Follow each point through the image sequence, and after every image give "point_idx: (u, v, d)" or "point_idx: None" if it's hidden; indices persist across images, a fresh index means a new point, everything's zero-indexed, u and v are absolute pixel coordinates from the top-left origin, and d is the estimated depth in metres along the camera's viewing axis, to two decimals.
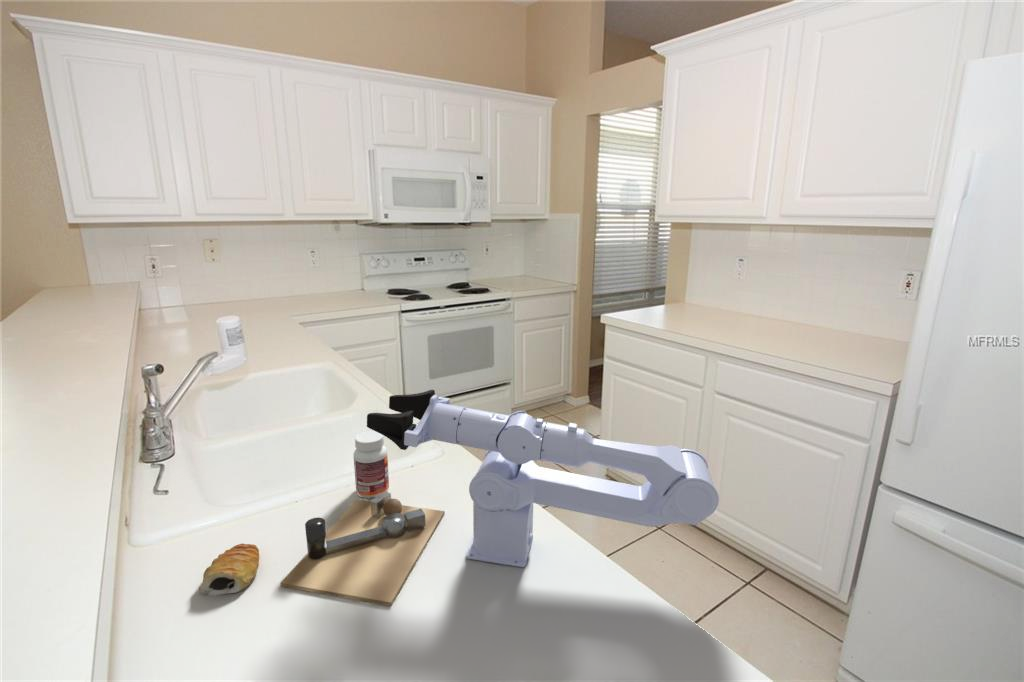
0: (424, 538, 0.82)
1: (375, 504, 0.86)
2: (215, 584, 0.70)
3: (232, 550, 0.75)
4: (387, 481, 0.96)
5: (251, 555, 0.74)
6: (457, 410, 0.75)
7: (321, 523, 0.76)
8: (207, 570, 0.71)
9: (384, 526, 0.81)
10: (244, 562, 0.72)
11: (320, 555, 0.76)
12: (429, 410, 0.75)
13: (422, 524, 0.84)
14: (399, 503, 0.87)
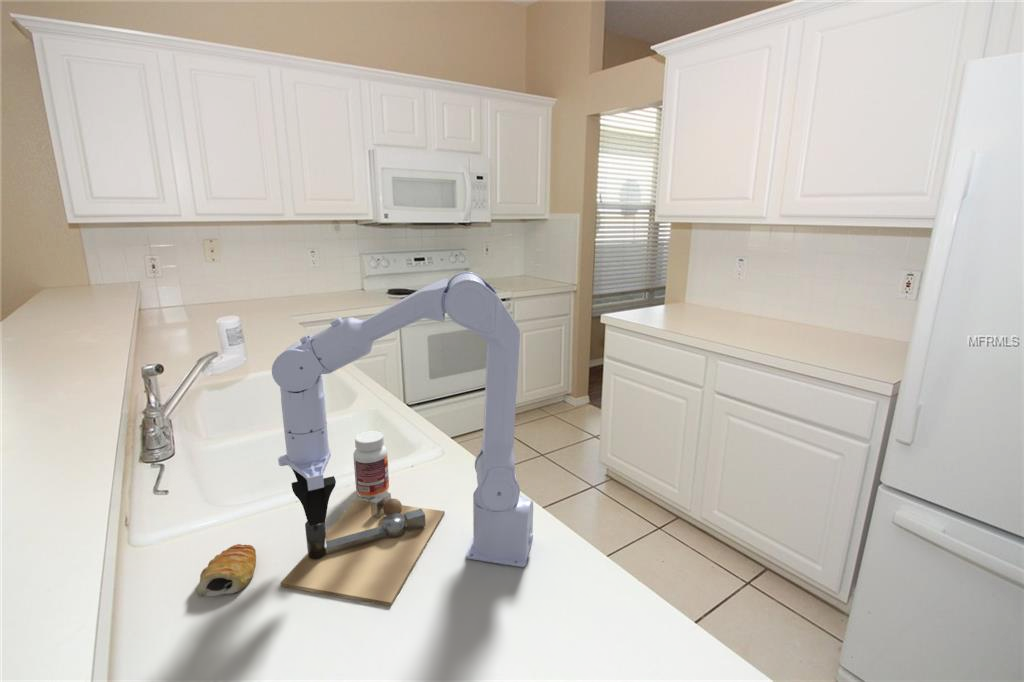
0: (424, 538, 0.82)
1: (375, 504, 0.86)
2: (212, 585, 0.69)
3: (229, 551, 0.74)
4: (387, 481, 0.96)
5: (248, 556, 0.74)
6: (285, 435, 0.70)
7: (321, 523, 0.76)
8: (204, 571, 0.71)
9: (384, 526, 0.81)
10: (241, 563, 0.72)
11: (320, 555, 0.76)
12: (291, 464, 0.70)
13: (422, 524, 0.84)
14: (399, 503, 0.87)
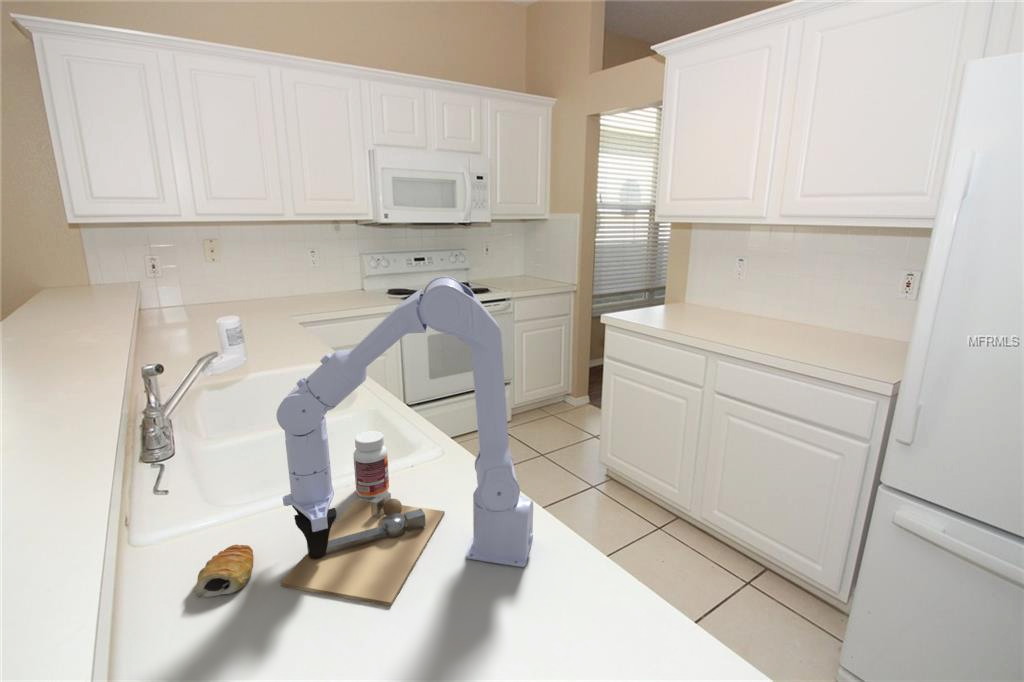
0: (424, 538, 0.82)
1: (375, 504, 0.86)
2: (210, 585, 0.69)
3: (226, 551, 0.74)
4: (387, 481, 0.96)
5: (246, 556, 0.74)
6: (290, 476, 0.72)
7: None
8: (201, 571, 0.70)
9: (384, 526, 0.81)
10: (239, 563, 0.72)
11: (320, 555, 0.76)
12: (295, 505, 0.72)
13: (422, 524, 0.84)
14: (399, 503, 0.87)
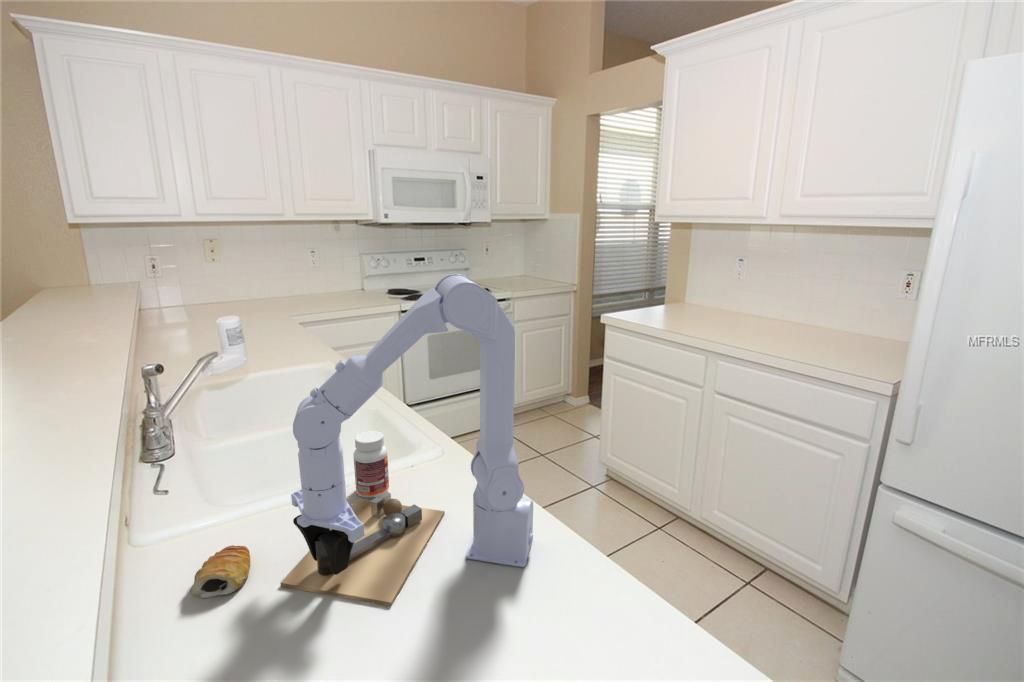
0: (424, 538, 0.82)
1: (375, 504, 0.86)
2: (207, 586, 0.69)
3: (223, 552, 0.74)
4: (387, 481, 0.96)
5: (243, 557, 0.74)
6: (308, 494, 0.68)
7: None
8: (198, 572, 0.70)
9: (387, 527, 0.81)
10: (236, 563, 0.72)
11: None
12: (318, 523, 0.68)
13: (419, 519, 0.86)
14: (399, 503, 0.87)
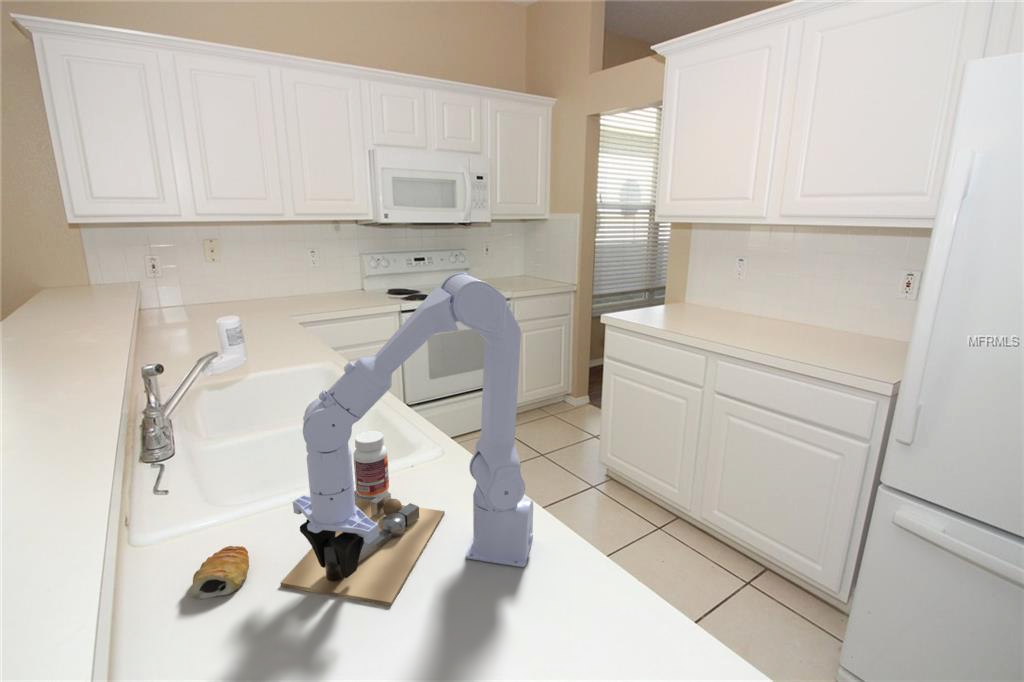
0: (424, 538, 0.82)
1: (375, 504, 0.86)
2: (206, 587, 0.69)
3: (221, 552, 0.74)
4: (387, 481, 0.96)
5: (241, 557, 0.74)
6: (320, 499, 0.66)
7: None
8: (197, 573, 0.70)
9: (388, 528, 0.81)
10: (235, 564, 0.72)
11: None
12: (330, 527, 0.67)
13: (417, 517, 0.86)
14: (399, 503, 0.87)
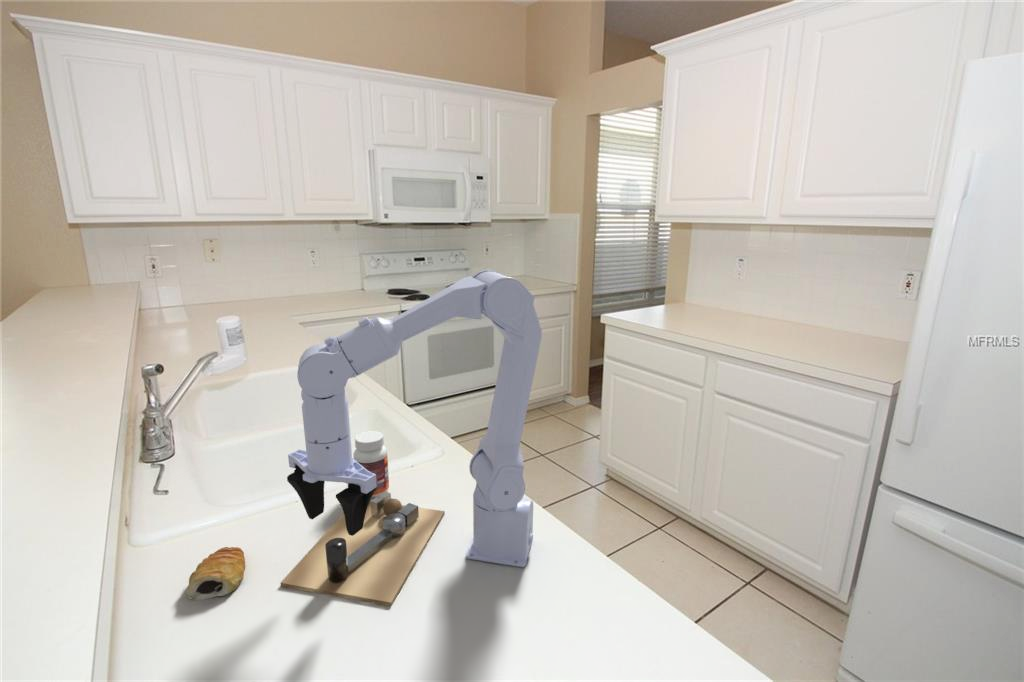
0: (424, 538, 0.82)
1: (375, 504, 0.86)
2: (203, 588, 0.69)
3: (217, 554, 0.74)
4: (387, 481, 0.96)
5: (237, 558, 0.74)
6: (315, 448, 0.65)
7: (343, 541, 0.72)
8: (193, 574, 0.70)
9: (389, 528, 0.81)
10: (231, 565, 0.72)
11: (346, 575, 0.72)
12: (326, 477, 0.65)
13: (416, 516, 0.86)
14: (399, 503, 0.87)
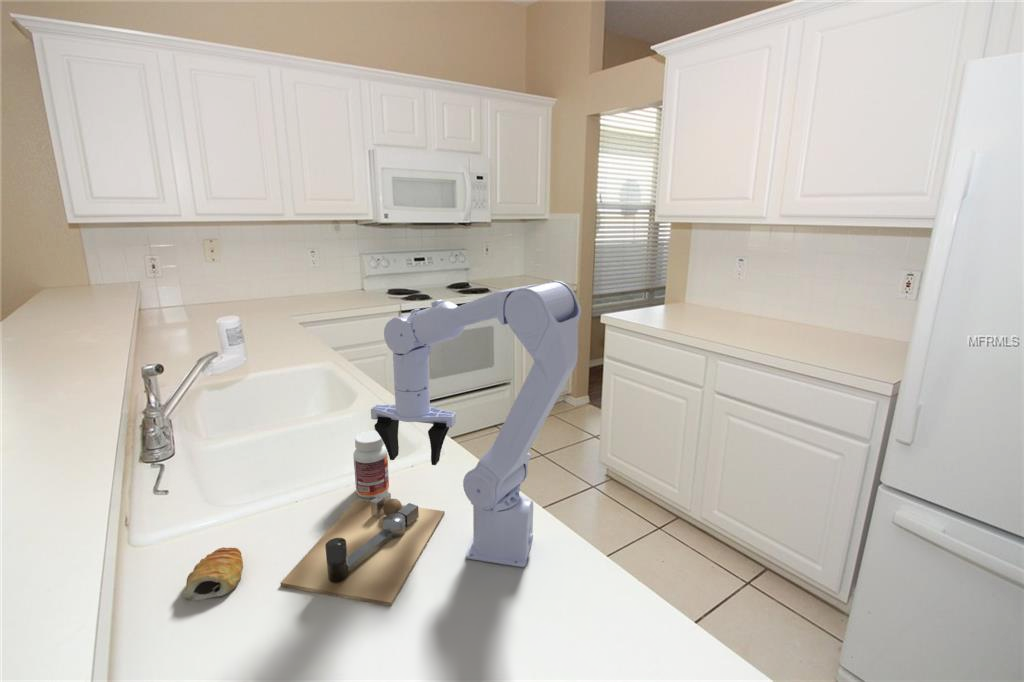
0: (424, 538, 0.82)
1: (375, 504, 0.86)
2: (200, 588, 0.69)
3: (214, 554, 0.74)
4: (387, 481, 0.96)
5: (235, 558, 0.74)
6: None
7: (343, 541, 0.72)
8: (190, 575, 0.70)
9: (389, 528, 0.81)
10: (229, 565, 0.72)
11: (346, 575, 0.72)
12: None
13: (416, 516, 0.86)
14: (399, 503, 0.87)
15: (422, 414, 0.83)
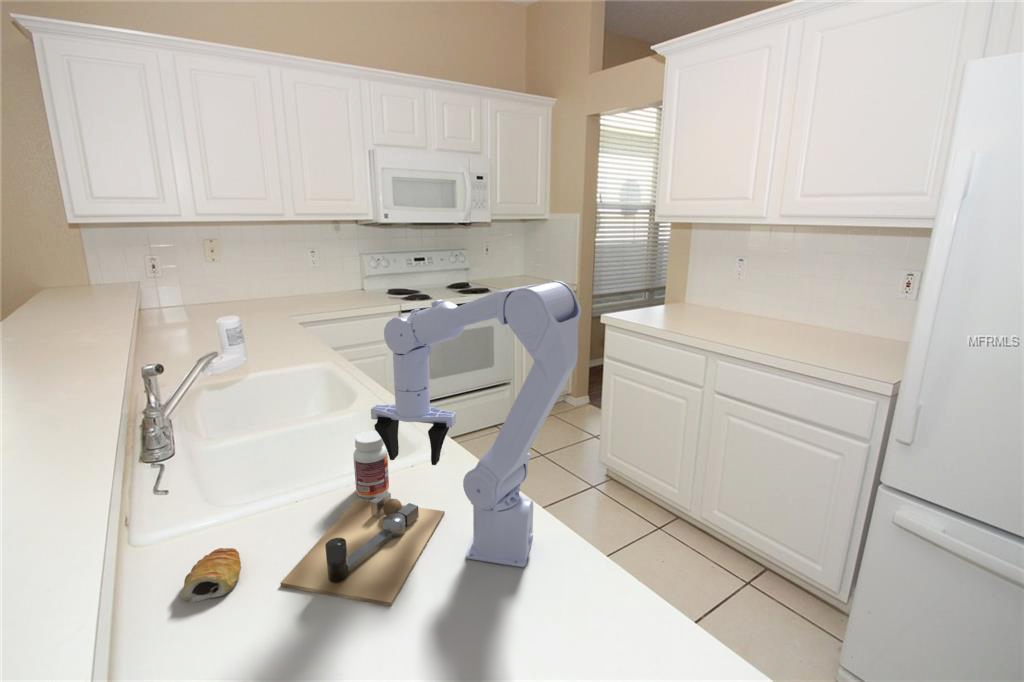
0: (424, 538, 0.82)
1: (375, 504, 0.86)
2: (198, 589, 0.69)
3: (212, 555, 0.74)
4: (387, 481, 0.96)
5: (233, 559, 0.74)
6: None
7: (343, 541, 0.72)
8: (188, 576, 0.70)
9: (389, 528, 0.81)
10: (227, 566, 0.72)
11: (346, 575, 0.72)
12: None
13: (416, 516, 0.86)
14: (399, 503, 0.87)
15: (422, 414, 0.83)
